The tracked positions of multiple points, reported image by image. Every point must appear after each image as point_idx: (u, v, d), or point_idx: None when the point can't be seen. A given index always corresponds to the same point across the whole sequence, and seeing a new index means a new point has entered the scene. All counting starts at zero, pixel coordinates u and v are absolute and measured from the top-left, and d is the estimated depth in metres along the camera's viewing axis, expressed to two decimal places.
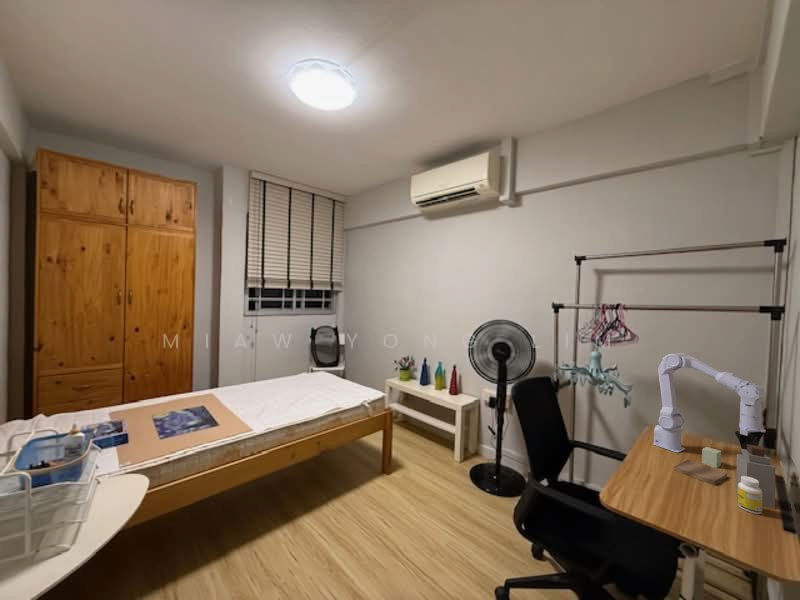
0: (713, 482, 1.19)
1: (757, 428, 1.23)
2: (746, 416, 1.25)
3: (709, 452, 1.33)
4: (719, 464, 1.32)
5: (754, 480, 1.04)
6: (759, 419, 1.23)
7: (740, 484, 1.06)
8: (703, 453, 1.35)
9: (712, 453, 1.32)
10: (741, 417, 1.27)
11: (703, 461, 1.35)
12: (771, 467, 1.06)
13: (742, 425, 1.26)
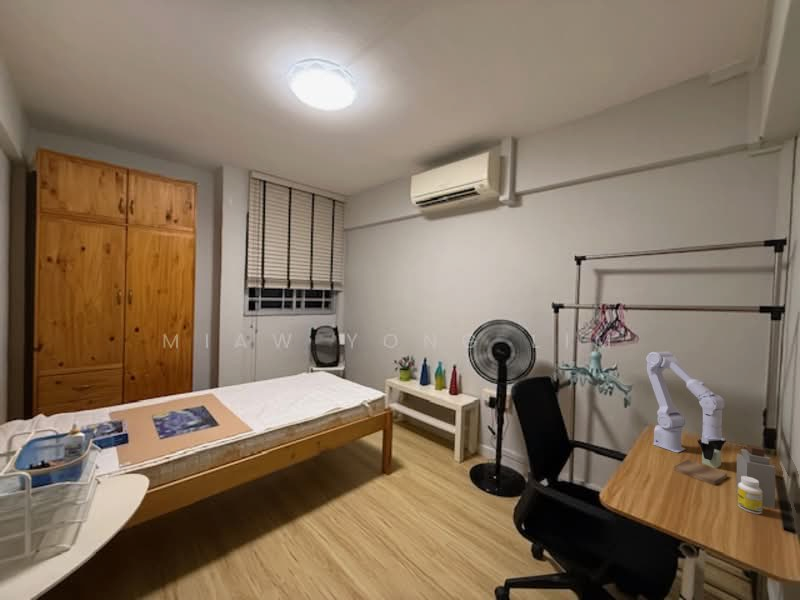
0: (713, 482, 1.19)
1: (717, 437, 1.31)
2: (707, 425, 1.33)
3: None
4: (719, 464, 1.32)
5: (754, 480, 1.04)
6: (719, 428, 1.31)
7: (740, 484, 1.06)
8: None
9: None
10: (703, 426, 1.35)
11: (703, 461, 1.35)
12: (771, 467, 1.06)
13: (704, 434, 1.34)
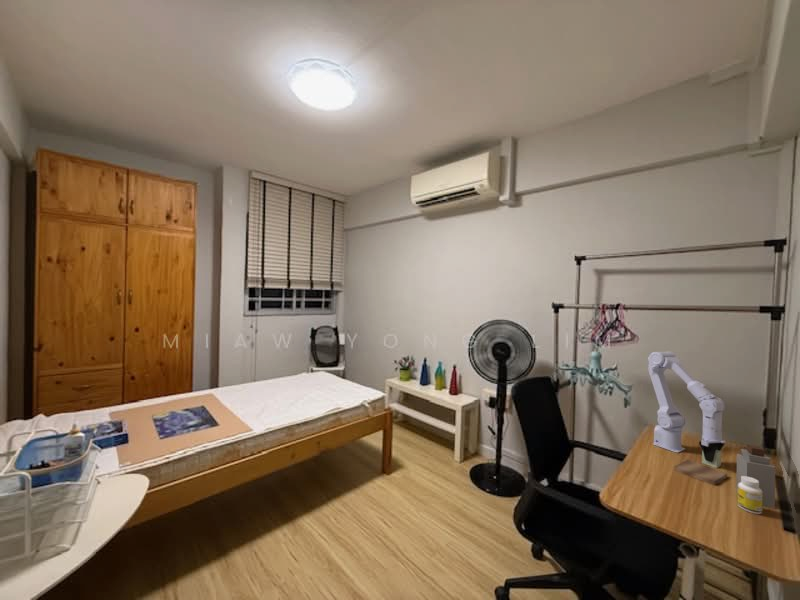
0: (713, 482, 1.19)
1: (717, 439, 1.31)
2: (707, 428, 1.33)
3: None
4: (719, 464, 1.32)
5: (754, 480, 1.04)
6: (719, 431, 1.31)
7: (740, 484, 1.06)
8: (703, 453, 1.35)
9: None
10: (703, 429, 1.35)
11: (703, 461, 1.35)
12: (771, 467, 1.06)
13: (704, 436, 1.34)
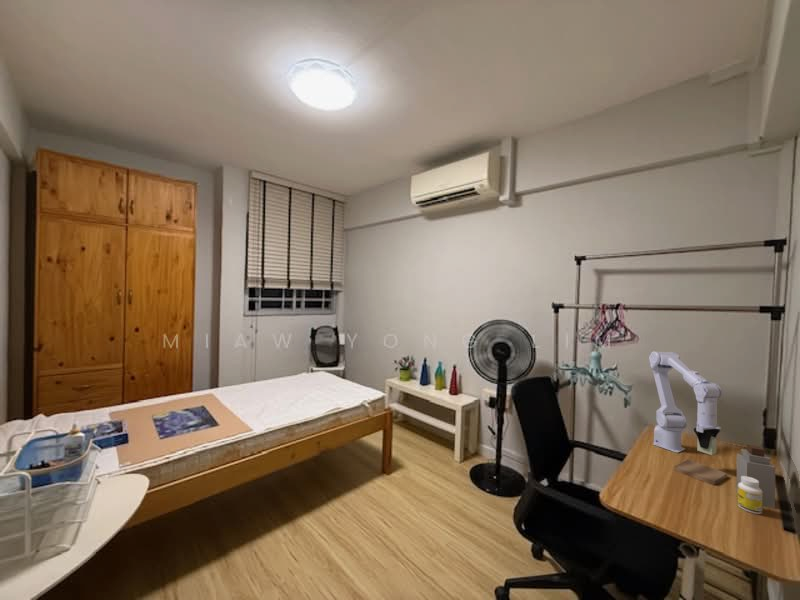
0: (713, 482, 1.19)
1: (713, 425, 1.27)
2: (702, 414, 1.29)
3: None
4: (715, 451, 1.29)
5: (754, 480, 1.04)
6: (714, 417, 1.27)
7: (740, 484, 1.06)
8: (698, 440, 1.31)
9: None
10: (698, 415, 1.31)
11: (698, 448, 1.31)
12: (771, 467, 1.06)
13: (699, 423, 1.30)
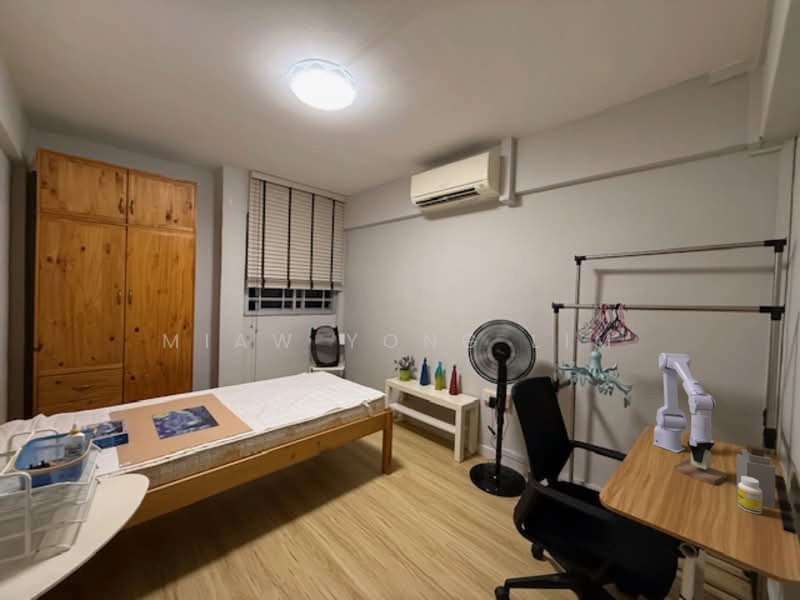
0: (713, 482, 1.19)
1: (706, 439, 1.24)
2: (696, 427, 1.25)
3: None
4: (709, 465, 1.25)
5: (754, 480, 1.04)
6: (708, 430, 1.24)
7: (740, 484, 1.06)
8: None
9: None
10: (692, 427, 1.27)
11: (692, 462, 1.27)
12: (771, 467, 1.06)
13: (693, 436, 1.27)
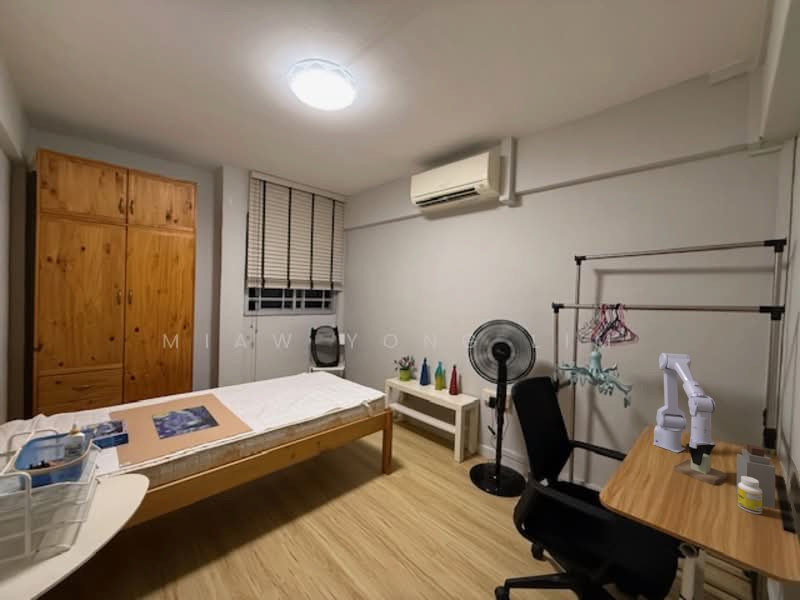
0: (713, 482, 1.19)
1: (706, 441, 1.24)
2: (696, 429, 1.25)
3: None
4: (708, 470, 1.25)
5: (754, 480, 1.04)
6: (708, 432, 1.24)
7: (740, 484, 1.06)
8: None
9: None
10: (692, 429, 1.27)
11: (692, 466, 1.27)
12: (771, 467, 1.06)
13: (693, 437, 1.27)
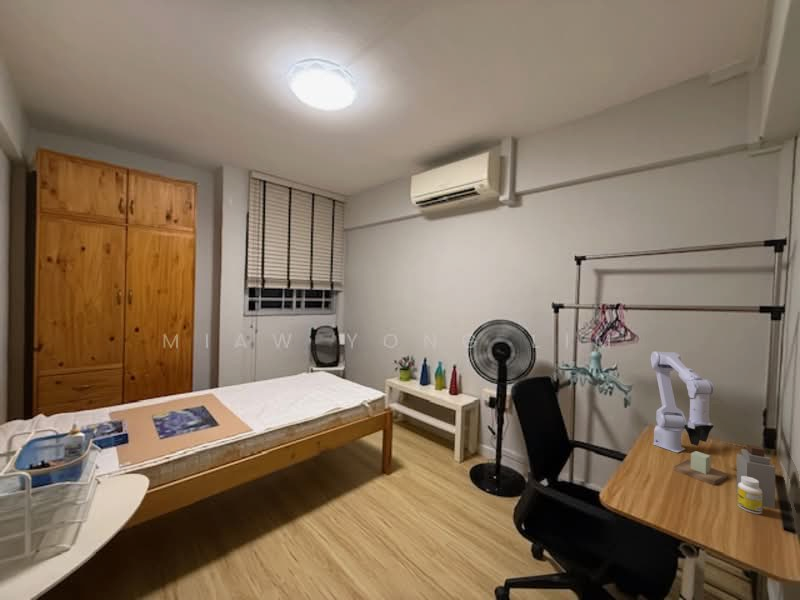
0: (713, 482, 1.19)
1: (704, 422, 1.28)
2: (694, 410, 1.30)
3: (698, 457, 1.25)
4: (708, 470, 1.25)
5: (754, 480, 1.04)
6: (706, 413, 1.28)
7: (740, 484, 1.06)
8: (692, 458, 1.27)
9: (701, 458, 1.24)
10: (690, 411, 1.31)
11: (692, 466, 1.27)
12: (771, 467, 1.06)
13: (691, 419, 1.31)
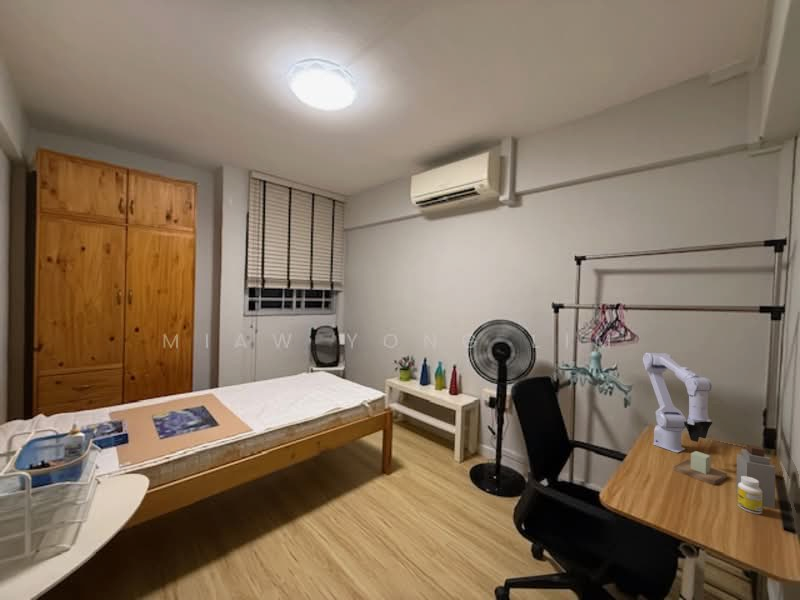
0: (713, 482, 1.19)
1: (703, 418, 1.31)
2: (694, 407, 1.33)
3: (698, 457, 1.25)
4: (708, 470, 1.25)
5: (754, 480, 1.04)
6: (705, 409, 1.31)
7: (740, 484, 1.06)
8: (692, 458, 1.27)
9: (701, 458, 1.24)
10: (690, 408, 1.35)
11: (692, 466, 1.27)
12: (771, 467, 1.06)
13: (690, 416, 1.34)
